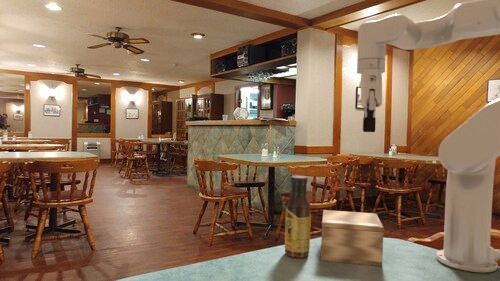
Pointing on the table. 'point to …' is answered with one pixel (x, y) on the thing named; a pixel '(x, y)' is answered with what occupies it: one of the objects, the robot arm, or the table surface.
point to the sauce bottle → (297, 219)
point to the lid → (351, 220)
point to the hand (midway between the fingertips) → (368, 131)
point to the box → (352, 246)
